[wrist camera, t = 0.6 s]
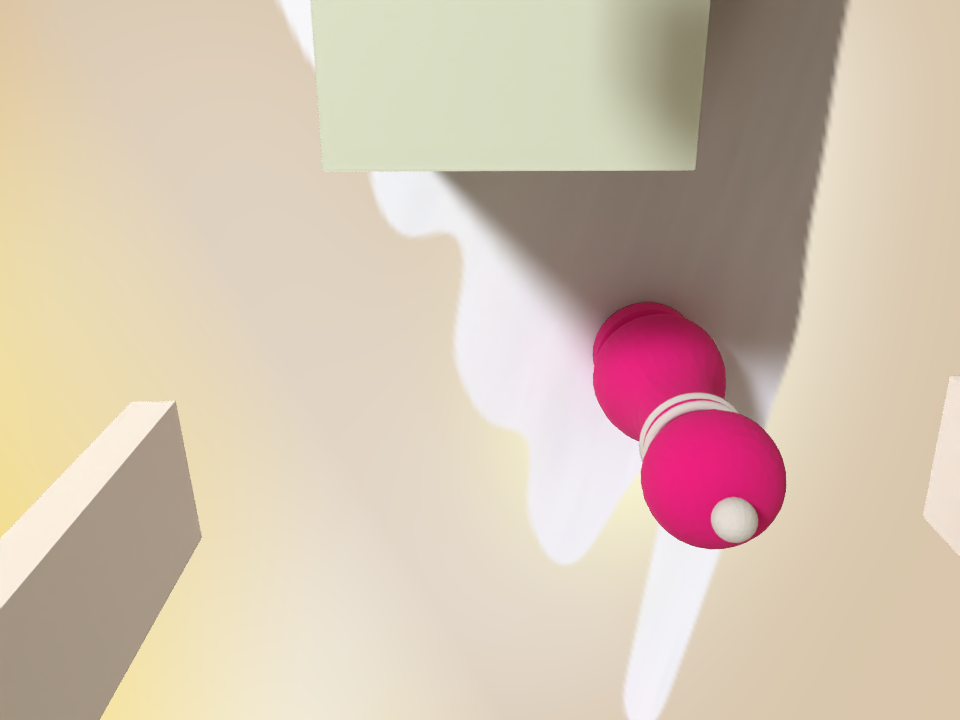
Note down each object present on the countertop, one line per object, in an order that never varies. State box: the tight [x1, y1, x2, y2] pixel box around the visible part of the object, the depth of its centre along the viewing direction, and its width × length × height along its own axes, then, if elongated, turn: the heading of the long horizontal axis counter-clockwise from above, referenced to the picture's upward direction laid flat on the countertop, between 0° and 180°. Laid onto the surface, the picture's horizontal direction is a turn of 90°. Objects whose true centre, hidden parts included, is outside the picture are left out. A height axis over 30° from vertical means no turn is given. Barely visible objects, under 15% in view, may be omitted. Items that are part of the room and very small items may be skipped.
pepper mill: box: [593, 302, 786, 549], centre depth 40 cm, size 7×7×20 cm
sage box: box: [311, 0, 711, 172], centre depth 34 cm, size 7×12×20 cm, turn 90°
